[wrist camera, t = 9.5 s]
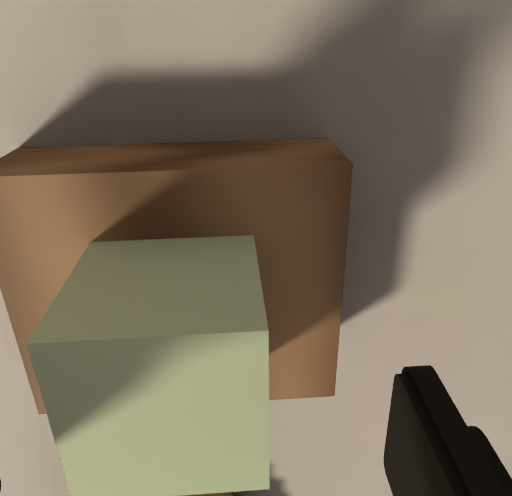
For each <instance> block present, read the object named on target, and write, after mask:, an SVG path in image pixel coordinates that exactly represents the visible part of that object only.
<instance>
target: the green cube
mask: <svg viewBox="0 0 512 496" xmlns="http://www.w3.org/2000/svg"><path fill="white" fill-rule="evenodd" d="M27 347H28V351H29V354H30V358H31V361H32V365H33V368H34V371H35V375H36V378H37V382H38V385H39V389H40V392H41V395H42V399H43V402H44V406H45V409H46V413H47V416H48V419H49V423H50V426H51V430H52V433H53V436H54V440H55V443H56V447H57V450H58V454H59V457H60V460H61V464H62V467H63V471H64V474H65V478H66V481H67V484H68V488H69V491H70V495H71V496H183V495H196V494H210V493H224V492H237V491H251V490H264V489H270V486H269V330H268V324H267V317H266V311H265V304H264V298H263V291H262V285H261V279H260V272H259V266H258V259H257V253H256V247H255V240H254V235H244V236H221V237H197V238H174V239H151V240H127V241H104V242H90V243H89V245H88V247H87V248H86V250H85V251H84V253H83V255H82V256H81V258H80V259H79V261H78V263H77V264H76V266H75V267H74V269H73V270H72V272H71V274H70V275H69V277H68V278H67V280H66V282H65V283H64V285H63V286H62V288H61V290H60V291H59V293H58V294H57V296H56V298H55V299H54V301H53V302H52V304H51V305H50V307H49V309H48V310H47V312H46V313H45V315H44V317H43V318H42V320H41V321H40V323H39V325H38V326H37V328H36V329H35V331H34V332H33V334H32V336H31V337H30V339H29V340H28V342H27Z"/></svg>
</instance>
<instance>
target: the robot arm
mask: <svg viewBox="0 0 512 496" xmlns="http://www.w3.org/2000/svg"><path fill="white" fill-rule="evenodd" d="M384 467H385V472H386V476H387V479H388V482H389V485H390V488H391V491H392V494H393V496H512V479H511V477H510V475H509V474H508V472H507V470H506V469H505V467H504V465H503V464H502V462H501V461H500V459H499V457H498V456H497V454H496V452H495V451H494V449H493V447H492V446H491V444H490V442H489V441H488V439H487V437H486V436H485V435H484V433H483V432H482V431H481V430H480V429H479V428H477V427H475V426H467V425H466V423H465V422H464V420H463V418H462V417H461V415H460V413H459V411H458V410H457V408H456V406H455V404H454V403H453V401H452V399H451V397H450V396H449V394H448V392H447V390H446V389H445V387H444V385H443V383H442V382H441V380H440V378H439V377H438V375H437V373H436V371H435V370H434V368H433V367H432V366H430V365H429V366H411V367H404V368H403V370H402V374H396V375H395V377H394V383H393V391H392V398H391V406H390V413H389V421H388V428H387V436H386V443H385V451H384ZM0 491H1V480H0Z"/></svg>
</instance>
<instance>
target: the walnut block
mask: <svg viewBox="0 0 512 496" xmlns="http://www.w3.org/2000/svg"><path fill="white" fill-rule="evenodd" d="M352 166H353V164H352V163H351V162H350V161H349V160H348V159H347V158H346V157H345V156H344V155H343V154H342V153H341V152H340V151H339V150H338V149H337V148H336V147H335V146H334V145H333V144H332V143H331V141H330V140H329V139H328V138H316V139H284V140H253V141H221V142H189V143H158V144H126V145H94V146H63V147H31V148H17V149H15V150H14V151H12V152H10V153H8V154H7V155H5V156H3V157H1V158H0V288H1V291H2V295H3V298H4V301H5V305H6V308H7V311H8V314H9V318H10V321H11V324H12V327H13V331H14V334H15V337H16V341H17V344H18V347H19V350H20V354H21V357H22V360H23V363H24V367H25V370H26V373H27V377H28V380H29V383H30V386H31V390H32V393H33V396H34V399H35V403H36V406H37V409H38V413H39V414H47V413H46V409H45V406H44V402H43V399H42V395H41V392H40V389H39V385H38V382H37V378H36V375H35V371H34V368H33V365H32V361H31V358H30V354H29V351H28V347H27V342H28V340H29V339H30V337H31V336H32V334H33V332H34V331H35V329H36V328H37V326H38V325H39V323H40V321H41V320H42V318H43V317H44V315H45V313H46V312H47V310H48V309H49V307H50V305H51V304H52V302H53V301H54V299H55V298H56V296H57V294H58V293H59V291H60V290H61V288H62V286H63V285H64V283H65V282H66V280H67V278H68V277H69V275H70V274H71V272H72V270H73V269H74V267H75V266H76V264H77V263H78V261H79V259H80V258H81V256H82V255H83V253H84V251H85V250H86V248H87V247H88V245H89V243H90V242H104V241H127V240H151V239H174V238H197V237H221V236H244V235H254V240H255V247H256V253H257V259H258V266H259V272H260V279H261V285H262V291H263V298H264V304H265V311H266V317H267V324H268V330H269V400H277V399H294V398H310V397H326V396H334V395H335V382H336V369H337V357H338V344H339V331H340V319H341V306H342V293H343V280H344V268H345V255H346V242H347V229H348V217H349V204H350V191H351V179H352Z"/></svg>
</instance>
